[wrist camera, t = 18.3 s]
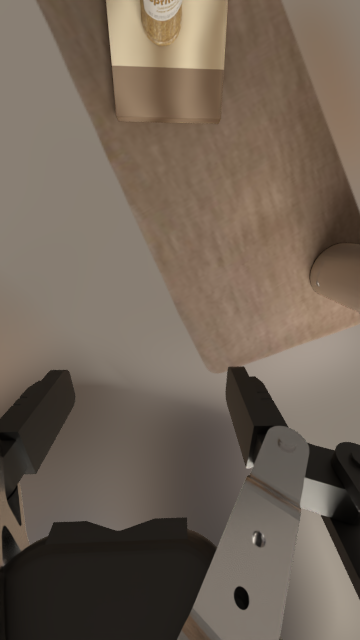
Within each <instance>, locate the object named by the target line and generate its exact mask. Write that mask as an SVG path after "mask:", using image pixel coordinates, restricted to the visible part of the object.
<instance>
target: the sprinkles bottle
mask: <svg viewBox="0 0 360 640" xmlns="http://www.w3.org/2000/svg"><path fill="white" fill-rule="evenodd" d="M140 5H141V22H142V26H143V29H144V32H145V34H146V36H147V37H148V38H149V40H150V41H152V42H153V43H154V44H156V45H158V46H167V45H170V44H171V43H173V42H174V41H175V39H176V38H177V37H178V35H179V32H180V29H181V26H182V0H140Z"/></svg>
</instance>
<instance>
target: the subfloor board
mask: <svg viewBox="0 0 360 640" xmlns="http://www.w3.org/2000/svg"><path fill="white" fill-rule="evenodd" d="M106 5H107V16H108V27H109V39H110V50H111V61H112V72H113V83H114V95H115V106H116V116H117V118H118V120H119V121H125V122H165V123H206V124H218V123H219V121H220V119H221V106H222V90H223V73H224V57H225V40H226V24H227V7H228V0H182V26H181V29H180V32H179V35H178V37H177V38H176V39H175V41H174V42H173V43H171V44H170V45H167V46H158V45H156V44H154V43H153V42H152V41H150V40H149V38H148V37H147V36H146V34H145V32H144V29H143V26H142V22H141V5H140V0H106Z"/></svg>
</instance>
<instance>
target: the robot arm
mask: <svg viewBox="0 0 360 640" xmlns="http://www.w3.org/2000/svg"><path fill="white" fill-rule="evenodd" d="M310 282H311V285H312V288H313V289H314V291H316V292H317V293H318V294H320V295H322V296H324V297H326V298H328V299H330V300H333V301H335V302H337V303H339V304H341V305H343V306H345V307H347V308H350V309H352V310H354V311H356V312H358V313H360V244H353V243H340V244H336V245H333V246H331V247H329V248H328V249H326V250H325V251H324V252H323V253H321V254H320V255H319V257H318V258H317V259H316V261H315V263H314V264H313V267H312V269H311V274H310ZM226 401H227V406H228V409H229V412H230V416H231V419H232V422H233V426H234V429H235V432H236V436H237V439H238V442H239V446H240V449H241V452H242V456H243V459H244V462H245V465H246V468H253V469H252V471H251V473H250V475H249V476H247V478H246V480H245V482H244V484H243V487H242V489H241V491H240V494H239V496H238V499H237V501H236V504H235V506H234V509H233V511H232V513H231V516H230V518H229V520H228V523H227V526H226V528H225V530H224V533H223V535H222V537H221V540H220V542H219V545H218V547H216V546H215V545H214V544H213V543H212V542H211V541H210V540H208V539H207V538H205V537H204V536H203V535H201V534H199V533H197V532H195V531H192V530H189V529H187V518H164V519H163V518H161V519H152V520H150V521H147V522H144V523H141V524H138V525H136V526H133V527H130V528H127V529H124V530H121V531H115V530H112V529H109V528H106V527H103V526H100V525H97V524H93V523H90V522H87V521H81V522H54V523H53V525H52V528H51V531H50V533H49V535H48V536H47V537H45V538H43V539H40V540H38V541H36V542H35V543H33V544H31V545H30V544H29V541H28V537H27V533H26V527H25V519H24V511H23V503H22V493H21V487H20V483H19V481H20V479H21V478H22V476H23V475H24V474H36V473H37V471H38V469H39V468H40V466H41V464H42V462H43V460H44V459H45V457H46V455H47V453H48V451H49V449H50V448H51V446H52V444H53V442H54V440H55V439H56V437H57V435H58V433H59V431H60V430H61V428H62V426H63V424H64V422H65V421H66V419H67V417H68V415H69V413H70V412H71V410H72V408H73V406H74V403H75V392H74V388H73V384H72V380H71V376H70V373H69V371H68V370H51V371H49V372H48V373H47V375H46V376H45V377H44V378H43V379H42V380H41V381H38V382H36V383H35V384H33V385H32V386H30V387H29V388H28V389H27V390H26V391H25V392H24V393H23V394H22V395H21V396H20V399H18V400H17V401H16V402H15V403H14V404H13V406H11V407H10V409H9V410H8V411H7V412H6V413H5V414H4V415H3V416H2V417H1V419H0V640H283V639H282V638H281V636H280V633H281V627H282V621H283V615H284V609H285V603H286V597H287V591H288V585H289V580H290V574H291V568H292V562H293V557H294V551H295V545H296V539H297V533H298V527H299V522H300V515H301V508H303V509H306V510H309V511H312V512H315V513H318V514H321V517H322V519H323V521H324V523H325V525H326V527H327V530H328V532H329V534H330V536H331V538H332V540H333V542H334V545H335V547H336V549H337V551H338V554H339V555H340V558H341V560H342V562H343V564H344V567H345V569H346V571H347V573H348V575H349V577H350V580H351V582H352V584H353V586H354V588H355V590H356V593H357V595H358V597H359V599H360V445H358V444H355V443H351V442H343V443H340V444H338V445H337V447H336V449H335V450H331V449H327V448H323V447H319V446H315V445H312V444H309V443H307V442H306V440H305V439H304V438H303V437H302V436H301V435H300V434H299V433H298V432H296V431H295V430H293V429H291V428H289V427H288V426H287V424H286V423H285V420H284V419H283V417H282V415H281V413H280V412H279V410H278V408H277V406H276V405H275V403H274V401H273V400H272V398H271V396H270V394H269V393H268V391H267V389H266V388H265V385H264V384H263V383H262V382H261V381H260V380H259V379H258V378H256V377H249V375H248V373H247V371H246V369H245V368H244V367H228V372H227V383H226Z"/></svg>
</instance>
